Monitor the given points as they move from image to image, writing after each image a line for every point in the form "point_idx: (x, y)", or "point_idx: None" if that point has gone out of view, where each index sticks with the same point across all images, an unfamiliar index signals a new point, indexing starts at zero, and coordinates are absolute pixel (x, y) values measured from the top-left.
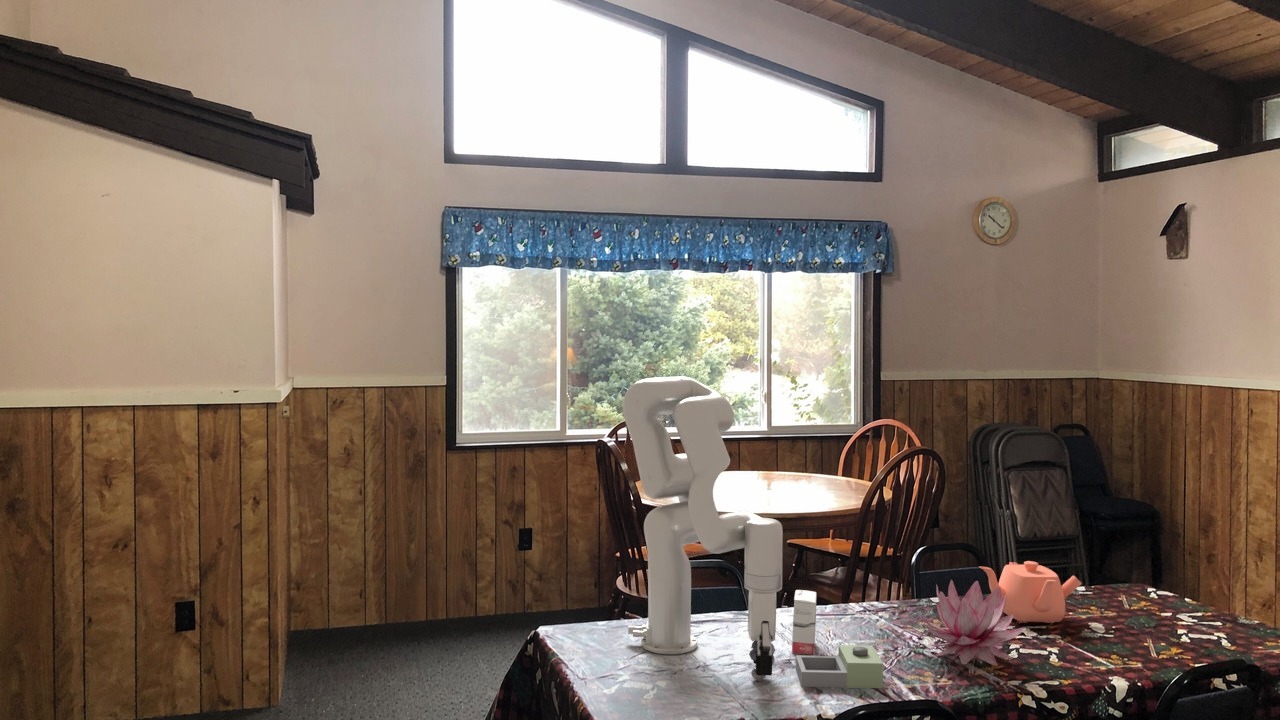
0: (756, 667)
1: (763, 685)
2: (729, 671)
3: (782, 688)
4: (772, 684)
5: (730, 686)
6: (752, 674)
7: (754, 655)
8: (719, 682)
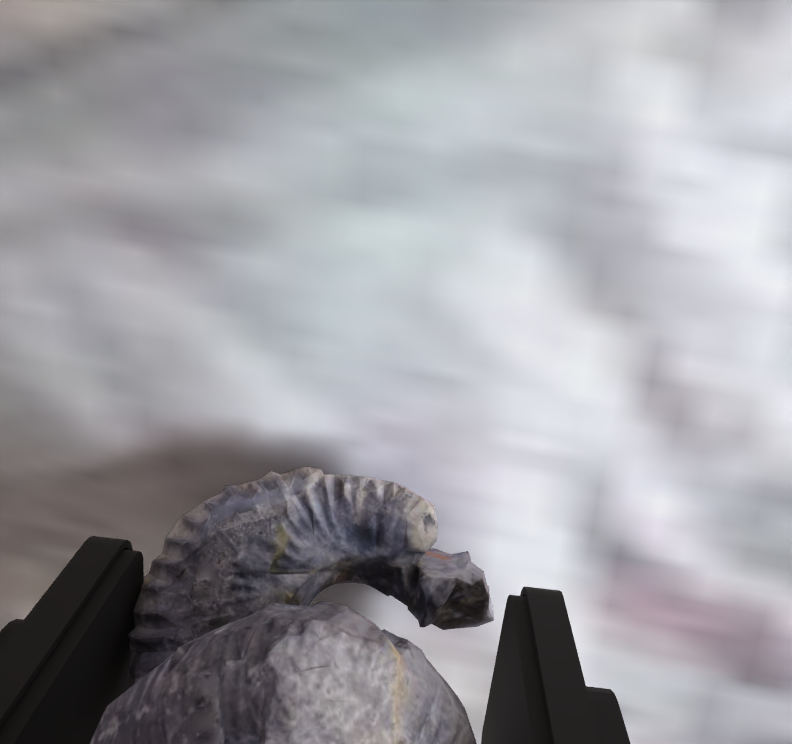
0: (47, 599)
1: None
2: (664, 225)
3: None
4: None
5: (145, 151)
6: (247, 487)
7: (123, 708)
8: (279, 10)
